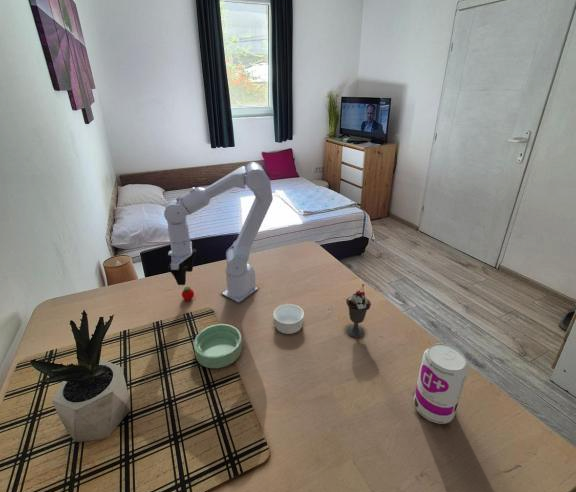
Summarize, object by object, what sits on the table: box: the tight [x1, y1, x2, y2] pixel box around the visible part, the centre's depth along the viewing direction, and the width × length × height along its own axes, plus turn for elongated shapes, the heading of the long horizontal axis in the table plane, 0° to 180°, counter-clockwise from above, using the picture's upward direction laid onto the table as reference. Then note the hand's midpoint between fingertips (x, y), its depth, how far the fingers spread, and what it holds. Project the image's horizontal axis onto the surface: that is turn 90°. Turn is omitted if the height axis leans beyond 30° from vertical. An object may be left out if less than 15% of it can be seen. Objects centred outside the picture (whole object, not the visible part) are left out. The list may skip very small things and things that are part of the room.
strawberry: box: [181, 286, 195, 301], centre depth 106 cm, size 4×4×4 cm
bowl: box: [193, 323, 243, 369], centre depth 85 cm, size 12×12×4 cm
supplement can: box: [413, 342, 469, 425], centre depth 68 cm, size 8×8×15 cm
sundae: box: [345, 283, 372, 339], centre depth 90 cm, size 7×7×15 cm
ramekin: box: [272, 303, 305, 335], centre depth 94 cm, size 9×9×4 cm
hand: (185, 277), depth 103 cm, fingers open, 7 cm apart
